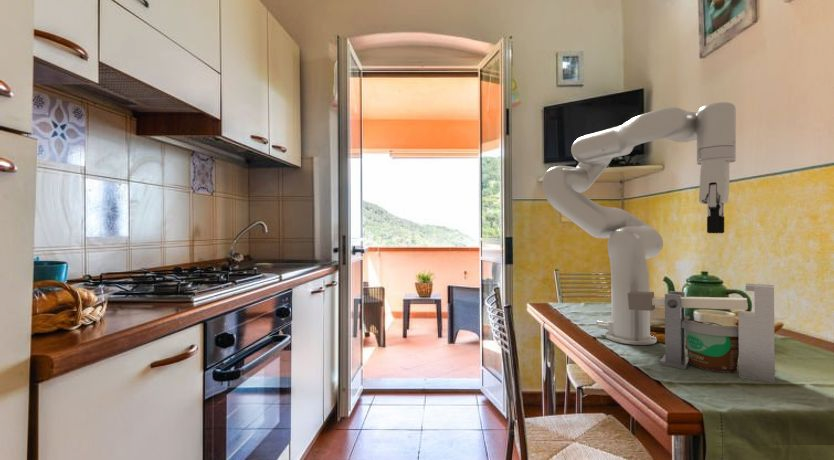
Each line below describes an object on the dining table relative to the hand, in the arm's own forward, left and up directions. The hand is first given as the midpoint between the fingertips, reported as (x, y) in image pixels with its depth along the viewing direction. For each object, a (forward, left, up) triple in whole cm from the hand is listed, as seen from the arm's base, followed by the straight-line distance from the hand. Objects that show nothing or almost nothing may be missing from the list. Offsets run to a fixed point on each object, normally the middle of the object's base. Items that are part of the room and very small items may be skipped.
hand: (715, 233), depth 97 cm
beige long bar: (-5, -10, -18) cm, 21 cm away
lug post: (+8, -10, -30) cm, 32 cm away
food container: (-1, -10, -30) cm, 32 cm away
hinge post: (-7, -10, -30) cm, 32 cm away
